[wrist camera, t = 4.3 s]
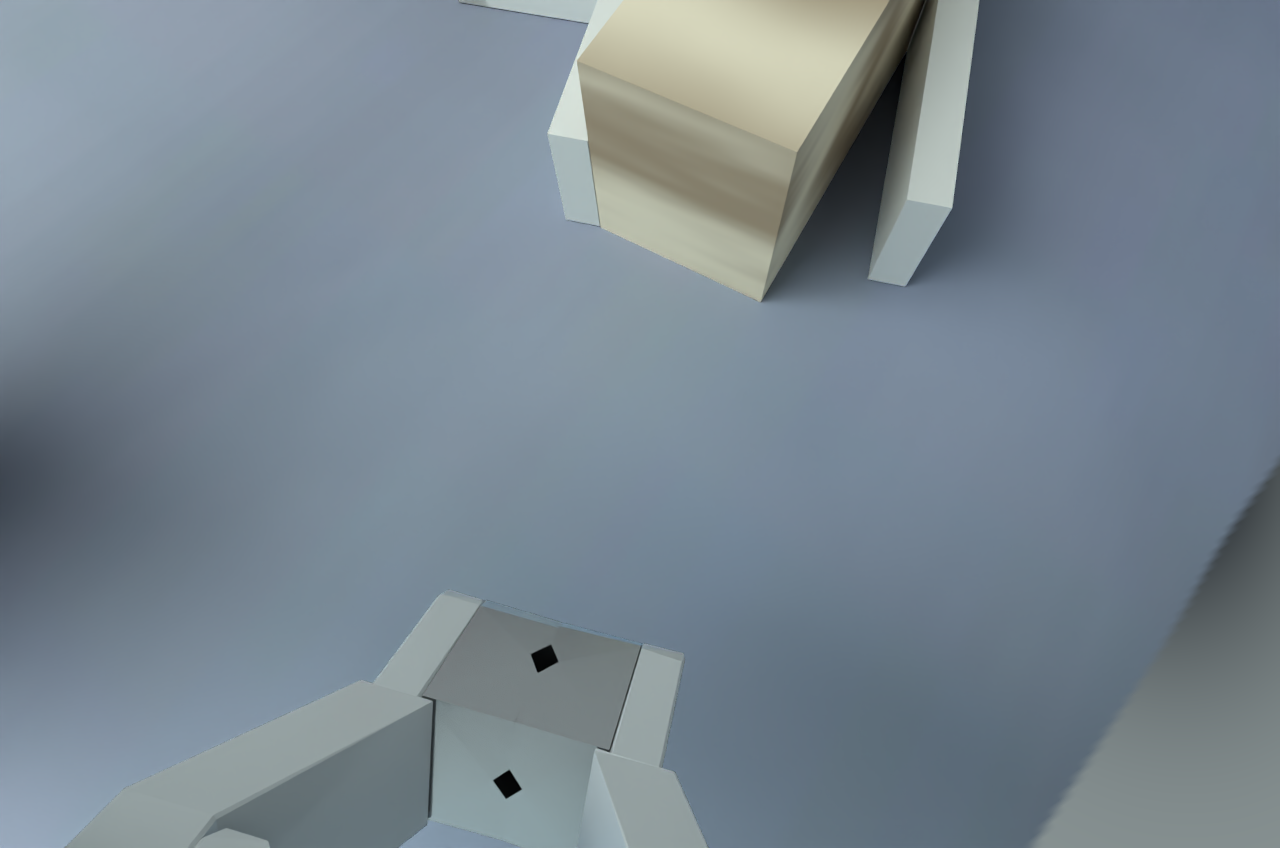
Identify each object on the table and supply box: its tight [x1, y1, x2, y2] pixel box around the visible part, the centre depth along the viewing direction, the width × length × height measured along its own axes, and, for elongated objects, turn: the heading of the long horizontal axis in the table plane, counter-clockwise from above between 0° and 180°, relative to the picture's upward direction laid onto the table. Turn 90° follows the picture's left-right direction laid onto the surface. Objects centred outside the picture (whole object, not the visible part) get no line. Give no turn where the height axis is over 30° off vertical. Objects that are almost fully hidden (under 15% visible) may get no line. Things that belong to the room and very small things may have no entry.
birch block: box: [577, 0, 926, 302], centre depth 22 cm, size 12×6×7 cm, turn 150°
